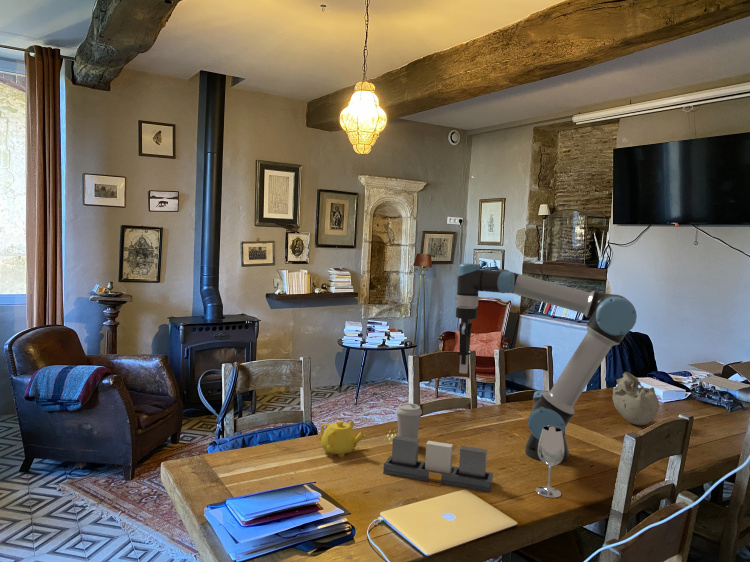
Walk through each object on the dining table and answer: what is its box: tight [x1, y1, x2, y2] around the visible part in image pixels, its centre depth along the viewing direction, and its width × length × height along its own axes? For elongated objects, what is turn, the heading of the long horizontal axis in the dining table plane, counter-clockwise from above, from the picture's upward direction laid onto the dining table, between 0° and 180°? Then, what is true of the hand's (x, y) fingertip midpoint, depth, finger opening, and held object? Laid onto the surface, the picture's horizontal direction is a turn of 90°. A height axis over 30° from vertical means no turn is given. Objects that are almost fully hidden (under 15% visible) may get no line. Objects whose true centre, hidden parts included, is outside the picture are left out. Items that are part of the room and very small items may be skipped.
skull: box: [612, 371, 661, 426], centre depth 244 cm, size 20×15×22 cm
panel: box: [424, 440, 454, 474], centre depth 178 cm, size 8×3×10 cm, turn 71°
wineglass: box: [535, 426, 564, 499], centre depth 170 cm, size 8×8×20 cm
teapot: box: [318, 420, 366, 458], centre depth 196 cm, size 14×14×11 cm
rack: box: [382, 435, 494, 493], centre depth 177 cm, size 34×10×11 cm, turn 72°
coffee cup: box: [395, 402, 423, 439], centre depth 205 cm, size 10×10×15 cm
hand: (463, 372), depth 198 cm, fingers closed
